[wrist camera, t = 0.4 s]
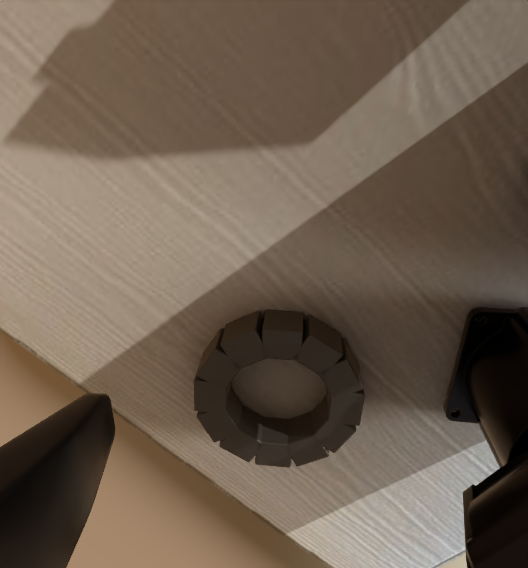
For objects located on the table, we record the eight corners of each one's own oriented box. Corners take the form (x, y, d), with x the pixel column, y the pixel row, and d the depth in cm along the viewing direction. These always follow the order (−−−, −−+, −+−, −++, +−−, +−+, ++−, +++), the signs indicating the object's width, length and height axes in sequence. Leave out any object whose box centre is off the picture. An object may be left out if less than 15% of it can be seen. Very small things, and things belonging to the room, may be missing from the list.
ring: (348, 446, 27) (351, 474, 25) (202, 433, 28) (194, 459, 26) (369, 316, 24) (374, 337, 22) (201, 303, 24) (192, 323, 22)
